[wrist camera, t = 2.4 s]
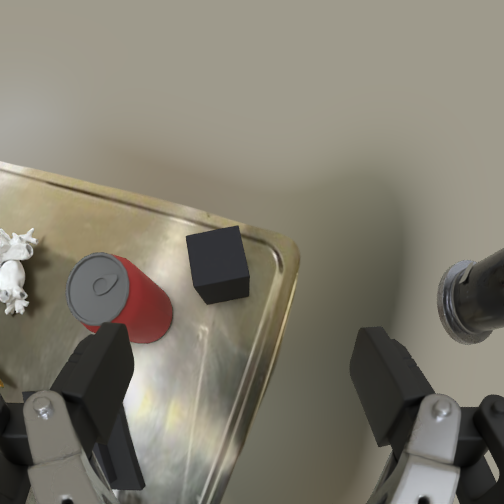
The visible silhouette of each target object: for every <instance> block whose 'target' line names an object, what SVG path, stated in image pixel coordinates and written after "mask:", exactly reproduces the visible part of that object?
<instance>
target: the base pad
mask: <svg viewBox="0 0 504 504" xmlns="http://www.w3.org/2000/svg"><path fill="white" fill-rule="evenodd" d="M34 393H36V392H22V395H23V400H24V403H25V402H26V400H27V399H28V398H29V397H30V396H31V395H33V394H34ZM92 451H93V452H94V454H95V456H96V459H97V461H98V463H99V465H100V467H101V469H102V471H103V473H104V476H105V478H106V480H107V482H108V483H109V485H110V487H111V489H117V490H142V489H143V488H144V487H145V483H144V480H143V477H142V474H141V471H140V468H139V465H138V461H137V458H136V455H135V451H134V448H133V444H132V440H131V437H130V433H129V429H128V425H127V421H126V417H125V412H124V408H123V404H122V405H121V407H120V410H119V413H118V416H117V418H116V421H115V424H114V427H113V430H112V433H111V435H110V438H109V441H108V444H107V445H104V444H100V443H95V445H94V448H93V450H92Z"/></svg>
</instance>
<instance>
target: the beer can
mask: <svg viewBox="0 0 504 504" xmlns="http://www.w3.org/2000/svg"><path fill="white" fill-rule="evenodd" d="M66 300H67V305H68V307H69V309H70V311H71V313H72V315H73V316H74V317H75V318H77V319H78V320H79V321H80V322H81V323H82V324H83V325H84V326H85V327H86V328H87V329H89V330H90V331H92V332H94V333H96V332H97V331H98V329H99V328H100V326H101V325H102V323H103V322H112V323H123V324H125V325H126V327H127V330H128V335H129V340H130V342H135V343H150V342H153V341H156V340H158V339H159V338H160V337H162V336H163V335H164V334H165V333H166V331H167V330H168V328H169V327H170V324H171V320H172V305H171V302H170V299H169V297H168V296H167V295H166V293H165V292H164V291H163V290H162V289H161V288H160V287H159V286H158V285H156V284H155V283H154V282H153V281H152V280H151V279H150V278H148V277H147V276H146V275H145V274H144V273H143V272H142V271H141V270H140V269H138V268H137V267H136V266H135V265H134V264H132V263H131V262H130V261H129V260H127V259H126V258H122V257H119V256H116V255H113V254H107V253H104V252H100V253H92V254H90V255H87V256H85V257H84V258H82V259H81V260H80V261H79V262H78V263H76V265H75V266H74V268H73V269H72V271H71V272H70V275H69V277H68V280H67V283H66Z"/></svg>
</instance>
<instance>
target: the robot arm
mask: <svg viewBox="0 0 504 504" xmlns="http://www.w3.org/2000/svg"><path fill="white" fill-rule="evenodd" d="M473 263H474V261H473V262H471V263H470V264H468V267H467V268H465V269H463V270H462V271H460V272H459V273H458V274H457V275H456V276H455V278H454V280H453V282H452V285H451V289H450V306H451V311H452V314H453V317H454V319H455V321H456V322H457V324H458V325H459V327H460V328H461V329H462V330H463V331H465V332H467V333H469V334H480V333H483V332H485V331H490V330H494V329H498V328H502V327H504V248H503V249H501V250H499V251H497V252H496V253H494V254H493V255H490V256H489V257H487V258H485V259H483V260H482V261H480V262H478V263H476V264H474V265H473ZM133 372H134V357H133V353H132V348H131V344H130V340H129V335H128V330H127V327H126V325H125V324H123V323H112V322H103V323H102V325H101V326H100V328H99V329H98V331H97V332H96V334H95V335H93V334H90V335H89V336H87V337H86V338H85V339H83V340H82V341H81V342H80V343H79V344H78V346H77V347H76V349H75V350H74V353H73V354H72V355H71V356H70V358H69V359H68V362H66V364H65V366H64V367H63V369H62V370H61V372H60V373H59V375H58V377H57V378H56V380H55V382H54V383H53V385H52V386H51V388H50V390H43V391H39V392H36V393H34V394H33V395H31V396H30V397H29V398H28V399H27V400H26V402H25V403H6V402H5V401H4V399H3V398H2V396H1V394H0V504H25V502H26V499H27V496H28V493H29V490H30V487H31V486H32V490H33V493H34V496H35V499H36V502H37V504H120V503H119V501H118V500H117V498H116V497H115V495H114V493H113V491H112V489H111V487H110V485H109V483H108V482H107V480H106V478H105V476H104V473H103V471H102V469H101V467H100V465H99V463H98V461H97V459H96V456H95V454H94V452H93V451H92V450H93V448H94V445H95V443H100V444H104V445H107V444H108V441H109V438H110V435H111V433H112V430H113V427H114V424H115V421H116V418H117V416H118V413H119V410H120V407H121V405H122V402H123V399H124V397H125V394H126V391H127V389H128V386H129V383H130V381H131V378H132V376H133ZM350 376H351V379H352V381H353V384H354V386H355V389H356V391H357V394H358V396H359V399H360V401H361V404H362V406H363V408H364V411H365V414H366V416H367V419H368V421H369V424H370V426H371V429H372V431H373V434H374V437H375V439H376V442H377V445H378V447H382V446H386V445H391V447H392V449H393V450H392V452H391V453H390V455H389V458H388V460H387V462H386V465H385V467H384V469H383V471H382V474H381V476H380V478H379V480H378V482H377V485H376V487H375V489H374V491H373V493H372V495H371V497H370V498H369V500H368V501H367V503H366V504H453V500H454V497H455V493H456V495H457V498H458V500H459V503H460V504H504V397H502V396H499V395H488V396H486V397H485V398H484V399H483V401H482V402H481V404H480V405H479V407H460V406H459V405H458V403H457V402H456V401H455V400H454V399H452V398H451V397H449V396H447V395H444V394H436V393H435V391H434V390H433V388H432V387H431V385H430V384H429V382H428V381H427V379H426V378H425V376H424V374H423V373H422V371H421V370H420V368H419V367H418V366H417V364H416V362H415V361H414V359H412V358H411V355H410V354H409V352H408V351H407V349H406V348H405V347H404V346H403V345H402V344H400V343H399V342H398V341H396V340H395V339H390V338H389V336H388V335H387V333H386V332H385V330H384V329H383V327H381V326H379V327H366V328H360V330H359V332H358V335H357V339H356V342H355V347H354V350H353V354H352V357H351V361H350ZM488 450H489V451H490V453H491V455H492V457H493V459H494V461H495V463H496V464H497V467H498V469H499V474H500V475H499V479H498V481H497V483H496V481H495V478H494V476H493V474H492V472H491V470H490V467H489V465H488V464H487V461H486V459H485V457H484V455H485V453H486V452H487V451H488Z"/></svg>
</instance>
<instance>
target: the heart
mask: <svg viewBox="0 0 504 504" xmlns="http://www.w3.org/2000/svg"><path fill="white" fill-rule="evenodd" d="M33 232H34V228H32V229H31V230H29V231H28V232H27V234H24V235H17V234H16V233H12V236H13V238H12V239H10V237H9V235H7V234H6V233H5V231H4V230H3V229H1V228H0V267H1V268H0V300H1V301H2V302H3V303H7V304H6V305H7V309H6V310H5V313H6V314H9V313H10V312H11V314H13V313H14V310H15V311H16V313H18V312H19V313H21V314H23V313H24V311H25V309H24V306H25V307H27V306H28V304H29V302H27V301H25V300H24V299H26V298H27V297H28V295H27V294H26V293H25V292H24V290H23V288H22V287H23V285H24V281H25V272H24V268H23V266H22V264H21V263H20V260H25V259H29V258H30V257H31V256H32V255H33V249H32V247H31V246H30V245H29V243H33V244H38V239H34V238H32V237H31V236H32V234H33ZM1 265H2V266H1Z"/></svg>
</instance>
